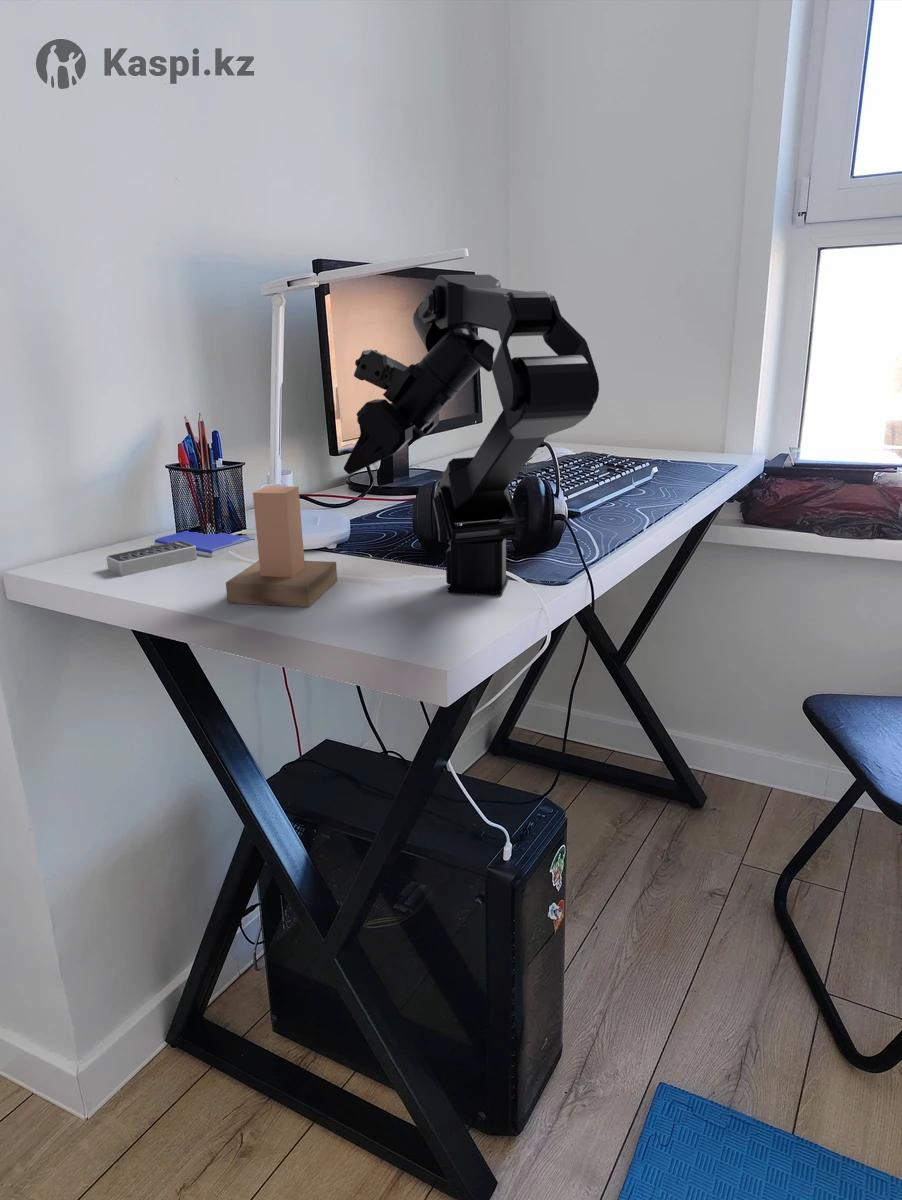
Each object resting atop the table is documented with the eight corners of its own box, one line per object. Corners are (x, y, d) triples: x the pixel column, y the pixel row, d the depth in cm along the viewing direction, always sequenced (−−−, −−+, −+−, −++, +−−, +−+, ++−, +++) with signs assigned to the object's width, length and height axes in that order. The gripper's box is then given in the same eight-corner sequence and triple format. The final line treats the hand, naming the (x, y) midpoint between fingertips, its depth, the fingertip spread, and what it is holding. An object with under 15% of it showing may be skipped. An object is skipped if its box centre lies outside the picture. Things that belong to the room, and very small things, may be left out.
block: (304, 567, 104) (298, 486, 101) (292, 577, 100) (285, 493, 97) (274, 566, 105) (266, 485, 102) (260, 575, 101) (252, 492, 98)
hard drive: (254, 537, 125) (198, 527, 132) (211, 549, 119) (154, 538, 125) (255, 547, 126) (199, 537, 132) (212, 560, 119) (155, 549, 126)
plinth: (337, 581, 107) (336, 561, 106) (308, 607, 98) (307, 586, 97) (262, 577, 109) (261, 558, 108) (227, 602, 100) (225, 582, 99)
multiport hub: (107, 572, 114) (104, 555, 113) (183, 555, 121) (181, 540, 121) (121, 579, 111) (119, 562, 110) (198, 561, 118) (196, 545, 117)
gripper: (412, 323, 110) (336, 410, 116) (370, 327, 93) (283, 429, 99) (473, 386, 111) (395, 469, 117) (442, 401, 94) (352, 497, 100)
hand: (358, 465), depth 108 cm, fingers open, 9 cm apart
